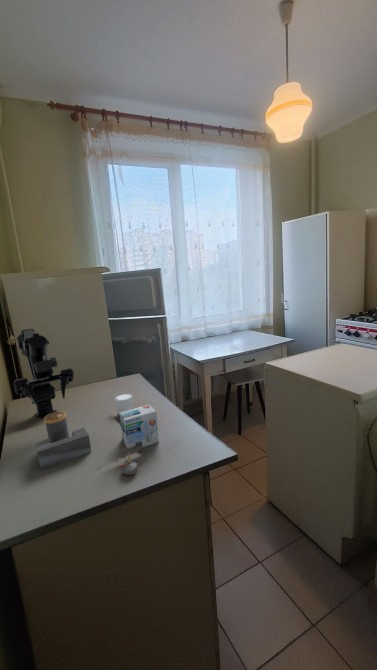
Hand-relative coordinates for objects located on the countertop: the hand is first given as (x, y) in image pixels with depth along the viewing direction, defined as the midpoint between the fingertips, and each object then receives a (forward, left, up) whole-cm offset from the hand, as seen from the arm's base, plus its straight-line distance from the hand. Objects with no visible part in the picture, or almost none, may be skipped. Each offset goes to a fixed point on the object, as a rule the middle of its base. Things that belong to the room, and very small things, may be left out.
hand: (51, 401), depth 100 cm
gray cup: (+7, -4, -12) cm, 15 cm away
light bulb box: (+29, +10, -14) cm, 34 cm away
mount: (+10, -5, -14) cm, 17 cm away
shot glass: (+9, +24, -14) cm, 29 cm away
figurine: (+36, -3, -14) cm, 39 cm away
